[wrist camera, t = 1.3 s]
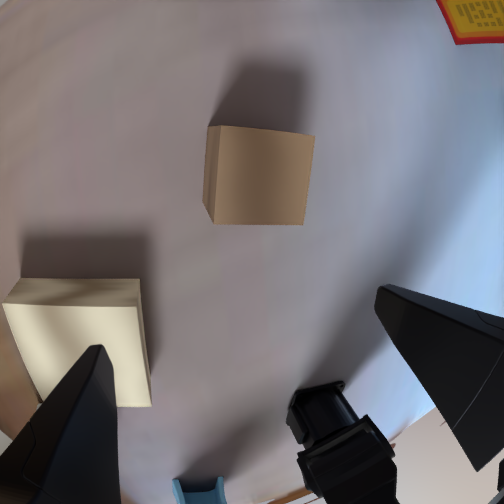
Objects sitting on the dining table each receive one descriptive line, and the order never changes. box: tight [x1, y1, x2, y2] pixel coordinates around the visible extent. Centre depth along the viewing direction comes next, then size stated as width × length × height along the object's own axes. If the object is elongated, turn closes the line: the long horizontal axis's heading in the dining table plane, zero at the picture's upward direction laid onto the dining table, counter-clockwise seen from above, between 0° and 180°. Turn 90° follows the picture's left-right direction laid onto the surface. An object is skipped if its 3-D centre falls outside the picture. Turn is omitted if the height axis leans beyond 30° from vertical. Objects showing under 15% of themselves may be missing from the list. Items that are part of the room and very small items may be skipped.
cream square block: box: [2, 278, 152, 407], centre depth 19 cm, size 10×10×4 cm
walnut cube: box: [203, 125, 315, 225], centre depth 17 cm, size 5×5×5 cm
